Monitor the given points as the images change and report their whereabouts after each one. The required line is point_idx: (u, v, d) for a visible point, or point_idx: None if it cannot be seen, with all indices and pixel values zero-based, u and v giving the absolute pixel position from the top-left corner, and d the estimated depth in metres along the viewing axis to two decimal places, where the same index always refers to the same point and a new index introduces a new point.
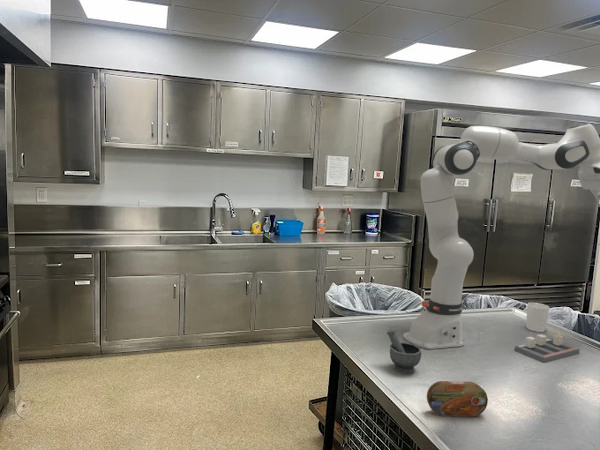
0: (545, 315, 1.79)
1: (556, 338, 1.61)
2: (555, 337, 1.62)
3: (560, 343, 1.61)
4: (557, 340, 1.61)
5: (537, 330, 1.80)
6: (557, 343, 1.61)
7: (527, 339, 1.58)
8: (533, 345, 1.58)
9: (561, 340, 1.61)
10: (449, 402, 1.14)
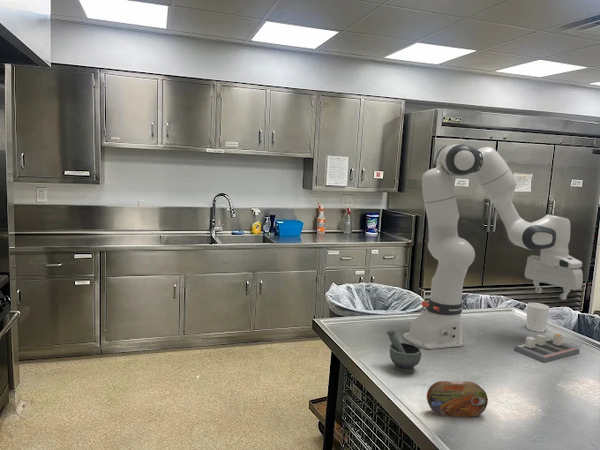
0: (545, 315, 1.79)
1: (556, 338, 1.61)
2: (555, 337, 1.62)
3: (560, 343, 1.61)
4: (557, 340, 1.61)
5: (537, 330, 1.80)
6: (557, 343, 1.61)
7: (527, 339, 1.58)
8: (533, 345, 1.58)
9: (561, 340, 1.61)
10: (449, 402, 1.14)
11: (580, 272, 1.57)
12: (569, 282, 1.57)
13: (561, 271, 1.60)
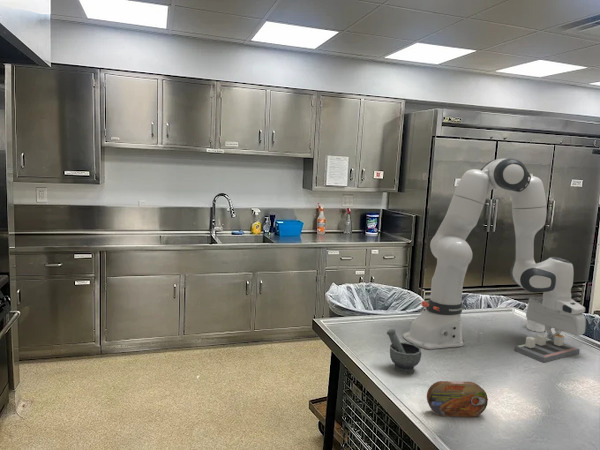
0: None
1: (557, 338, 1.61)
2: (556, 337, 1.61)
3: (561, 343, 1.61)
4: (558, 341, 1.61)
5: (537, 330, 1.80)
6: (558, 343, 1.61)
7: (527, 339, 1.58)
8: (533, 345, 1.58)
9: (562, 340, 1.61)
10: (449, 402, 1.14)
11: (583, 318, 1.56)
12: (571, 328, 1.56)
13: (564, 316, 1.58)
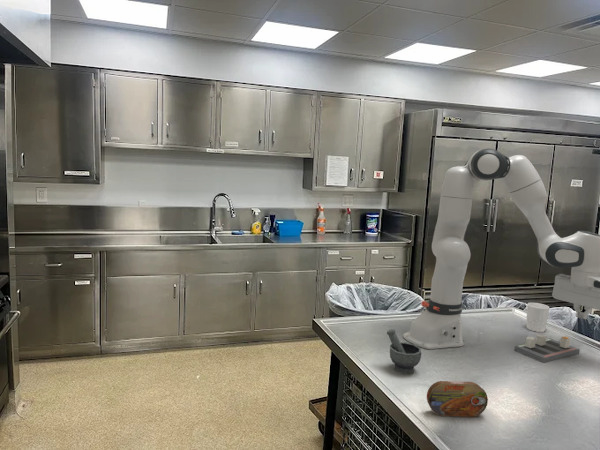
0: (545, 315, 1.79)
1: (563, 340, 1.59)
2: (562, 339, 1.60)
3: (567, 346, 1.59)
4: (564, 343, 1.59)
5: (537, 330, 1.80)
6: (564, 346, 1.59)
7: (527, 339, 1.58)
8: (533, 345, 1.58)
9: (568, 342, 1.59)
10: (449, 402, 1.14)
11: None
12: None
13: (595, 292, 1.49)
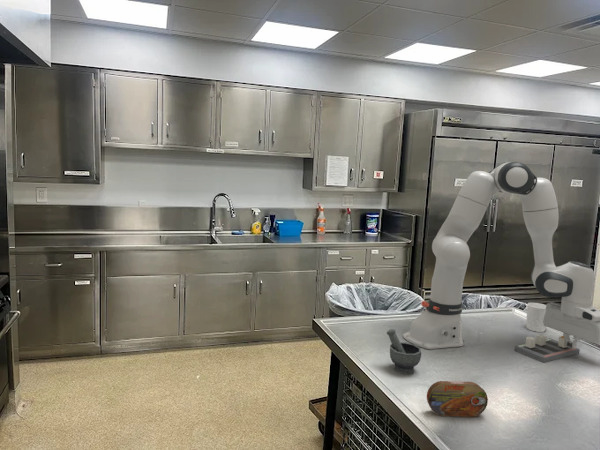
0: None
1: (561, 340, 1.60)
2: (560, 339, 1.60)
3: (565, 345, 1.60)
4: (562, 342, 1.60)
5: (537, 330, 1.80)
6: (562, 345, 1.59)
7: (527, 339, 1.58)
8: (533, 345, 1.58)
9: None
10: (449, 402, 1.14)
11: None
12: (592, 336, 1.50)
13: (584, 323, 1.52)
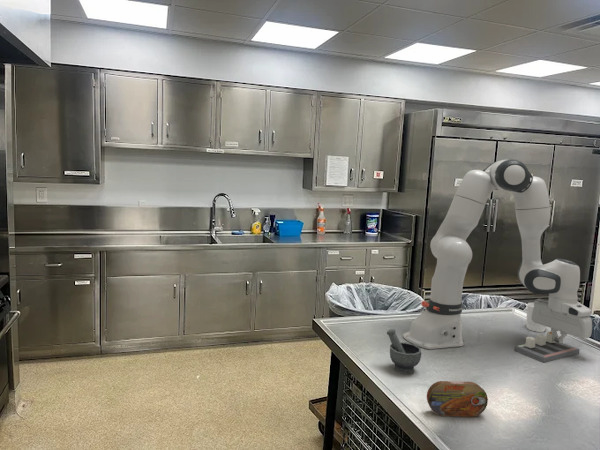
0: None
1: (549, 336, 1.64)
2: (548, 335, 1.64)
3: None
4: (550, 338, 1.63)
5: (537, 330, 1.80)
6: (550, 340, 1.63)
7: (527, 339, 1.58)
8: (533, 345, 1.58)
9: None
10: (449, 402, 1.14)
11: (589, 320, 1.53)
12: (578, 331, 1.54)
13: (570, 318, 1.56)
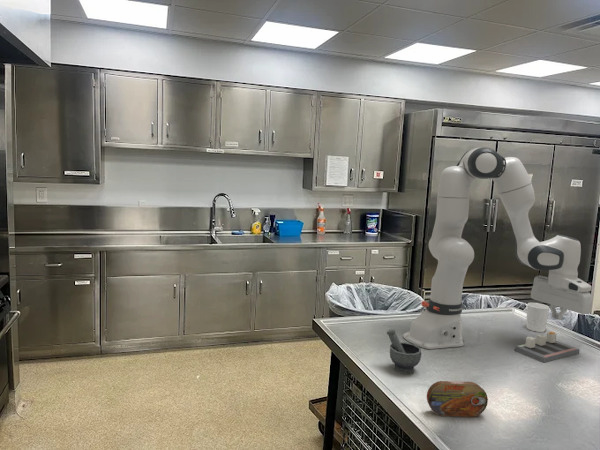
0: (545, 315, 1.79)
1: (549, 336, 1.64)
2: (548, 335, 1.64)
3: (553, 341, 1.64)
4: (550, 338, 1.63)
5: (537, 330, 1.80)
6: (550, 341, 1.63)
7: (527, 339, 1.58)
8: (533, 345, 1.58)
9: (554, 337, 1.64)
10: (449, 402, 1.14)
11: (589, 296, 1.53)
12: (577, 306, 1.54)
13: (570, 294, 1.56)
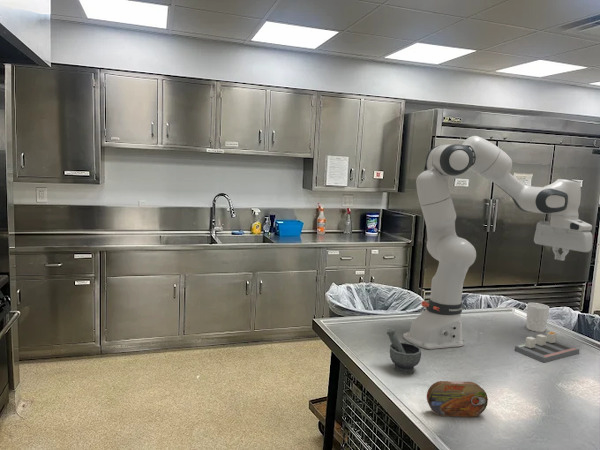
0: (545, 315, 1.79)
1: (549, 336, 1.64)
2: (548, 335, 1.64)
3: (553, 341, 1.64)
4: (550, 338, 1.63)
5: (537, 330, 1.80)
6: (550, 341, 1.63)
7: (527, 339, 1.58)
8: (533, 345, 1.58)
9: (554, 337, 1.64)
10: (449, 402, 1.14)
11: (590, 235, 1.59)
12: (579, 245, 1.60)
13: (571, 234, 1.62)
